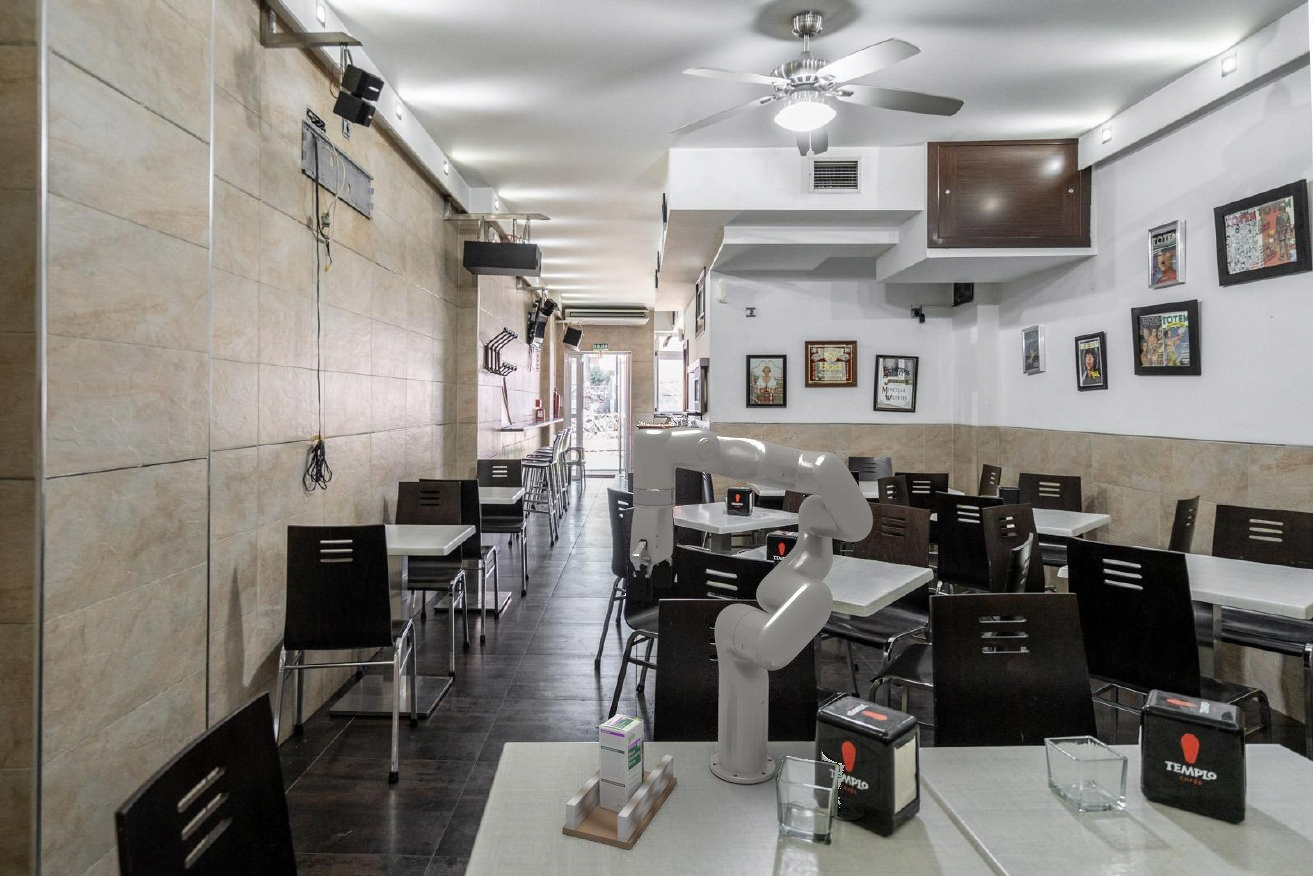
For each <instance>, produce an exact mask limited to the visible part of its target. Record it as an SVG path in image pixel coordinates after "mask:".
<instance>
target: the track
mask: <svg viewBox="0 0 1313 876" xmlns="http://www.w3.org/2000/svg"><path fill="white" fill-rule="evenodd" d="M677 783H678V780H677V777H675V776H674V755H671V754H665V755H664V756H663V757H662V759H661V760H660V761H659V763H657V765H656V766H655V767H654V769H653V770H652V771H651V772H649V771H645V770H644V783H643V784H642V785H641V787H640V788H639V789H638V790H637V792H636V793H635V794H634V796H633V797H632V798H631V799H630V801H629V802H628V803H627V804H626V806H625V807H624V808H623V809H622V811H621V812H620V813H615V812H612V811H609V810H606V809H604V808H601V807H600V771H599V769H597V771H596V772H595V773H594V774H593V775H592V776H591V777H590V778H589V779H588V781H587V782H586V783H584V785H583V786H582V787H581V788H580V789H579V790H578V791H577V792H576V793H575V794H574V795H573V796H572V798H570V800H568V802H566V806H565V807H566V808H565V809H566V813H565V816H566V817H565V818H566V819H565V824H564V825H563V826H562V834H563V835H567V836H571V837H576V838H581V839H584V840H589V841H593V842H596V843H600V844H601V843H602V844H604V845H609V846H612V847H616V848H621V849H625V850H632V848H633V847H634V845H635V844H636V842H637V841H638V839H639V838H640V837H641V835H642V834H643V832H645V829H646V828H647V826H649V823H650V822H651V821H652V819H653V818H654V816H655V815H656V814H657V812H659V809H660V808H661V807H662V805H663V804H664V802H665V801H666V799H667V798H668V796H669V795H670V793H671V792H672V790H673V789H674V788H675V786H676V785H677Z"/></svg>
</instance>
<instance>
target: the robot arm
mask: <svg viewBox="0 0 1313 876" xmlns="http://www.w3.org/2000/svg"><path fill="white" fill-rule="evenodd" d="M632 461H633V464H632V465H633V469H632V470H633V472H632V474H633V477H632V478H633V479H632V482H633V483H632V484H633V485H632V487H633V488H632V489H633V491H632V493H633V494H632V496H633V497H632V499H633V500H632V506H633V507H634V508H633V514H632V519H631V520H632V521H631V530H630V531H631V532H630V545H629V547H630V548H629V550H630V552H629V559H630V562H631V563H632V569H633V573H632V575H633V580H634V581H633V598H634V599H635V600H637V601H646V602H651V601H652V600H653V584H654V587H655V588H660V589H661V588H662V589H670V588H672V583H673V582H672V581H673V580H672V577H673V576H672V575H673V574H672V573H673V569H672V568H673V567H672V566H673V559H672V556H673V553H674V552H673V551H674V519H673V508H674V507H676V470H677V468H678V469H685V470H690V471H695V472H699V473H705V474H711V475H715V476H720V477H722V478H727V479H730V480H733V481H738V482H742V483H748V484H752V485H753V484H754V485H759V486H765V487H769V488H774V489H778V490H785V491H790V492H795V493H801V494H809V495H810V496H806V498H804V500H803V501H802V503H801V504H800V506H799V509H798V515H797V516H798V517H797V518H798V520H797V521H798V534H797V539H796V543H795V545H794V546H793V548H792V549H791V550H790V552H789V553H788V554H787V555H786V556H785V557H784V558H783V559H782V560H781V561H780V562H779V563H778V564H777V565H776V566H775V567H774V568H773V569H772V570H771V571H769V573H768V574H767V575H766V576H764V578H763V579H762V580H761V581H760V583H759V585H758V586H757V589H756V595H755V597H756V600H757V603H758V605H759V606H760V608H762V609H760V608H757V607H755V606H752V605H749V604H745V603H733V604H730V605H728V606H726V607H724V608H723V609H722V610H721V611H720V612H719V614H718V615H717V617H716V619H715V620H716V621H715V624H714V640H715V641H714V642H715V647H716V653H717V661H718V662H717V663H718V716H717V717H718V720H717V721H718V723H717V724H718V728H717V730H718V731H717V735H718V737H717V743H718V744H717V752H715V753H714V754H713V755H712V756H711V757H710V759H709V767H710V770H711V772H712V773H713V774H714V775H716V776H717V777H719V778H720V779H722V780H725V781H727V782H731V783H734V784H742V785H745V784H747V785H751V784H758V783H763V782H765V781H767V780H769V779H771V778H772V777H773V776H774V775H775V773H776V768H777V767H776V762H775V760H774V759H773V758H772V757H771V756H770V755H769V754H768V753H769V751H768V749H769V747H768V746H769V744H768V743H769V689H770V687H769V686H770V685H769V682H770V680H769V672H768V671H777V670H780V669H782V668H784V667H786V666H788V665H789V664H790V663H791V662H792V661H793V660H794V659H795V658H796V657H797V656H798V654H800V653H801V652H802V650H804V649H805V647H807V646H808V644H809V643H810V642H811V641H812V640H813V639H814V638H815V636H816V635H817V634H818V633H819V632H820V631H821V630H822V629H823V627H824V626H825V625H826V624H827V622H828V620H829V619H830V618H831V617H830V616H831V613H832V611H833V605H834V599H833V593H832V591H831V589H830V587H829V585H828V584H826V583H825V582H824V580H825V579H826V578H827V576H828V575H829V573H830V572H831V570H832V567H833V564H834V563H833V562H834V555H833V553H834V552H833V539H835V540H838V541H839V540H840V541H844V542H848V543H856V542H859V541H862V540H864V539H865V538H867V536H868V535H869V534H870V533H871V531H872V528H873V524H874V523H873V522H874V519H873V512H872V508H871V506H870V503H869V502H868V501H867V499H866V497H865V495H864V494H863V492H862V490H861V488H860V487H859V485H858V483H857V481H856V479H855V477H854V476H853V474H852V473H851V472H850V470H849V468H848V467H847V465H846V464H845V463H844V462H843V460H842V459H841V458H840V457H839V456H838V455H836V454H834V453H832V452H828V451H814V450H806V449H800V448H795V447H791V446H786V445H782V444H778V443H777V444H776V443H773V442H769V441H766V440H761V439H756V438H748V437H747V438H746V437H727V436H718V435H717V434H715V432H713V431H711V430H709V429H707V428H701V427H688V426H687V427H685V426H674V427H670V428H642V429H641V428H640V429H638V430H636V431H635V433H634V435H633V460H632ZM646 567H647V568H646ZM653 567H654V578H653V577H651V576H652V571H653ZM653 581H654V583H653Z"/></svg>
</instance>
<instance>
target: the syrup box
mask: <svg viewBox="0 0 1313 876" xmlns="http://www.w3.org/2000/svg"><path fill="white" fill-rule="evenodd" d="M644 727H645V725H644V720H643V719H641V718H639V717H635V716H632V715H628V714H621V713H616V714H615V715H614V716H613V717H611V718H609V719H608V720H606V721H605V722H603V723H602V724H600V725H599V726H598V738H599V739H598V740H599V741H598V747H599V749H598V751H599V752H598V753H599V754H598V756H599V757H598V758H599V761H598V762H599V763H598V764H599V769H598V770H599V771H600V807H601V808H604V809H606V810H609V811H612V812H615V813H620V812H621V811H622V809H623V808H624V807H625V806H626V804H627V803H628V802H629V801H630V799H631V798H632V797H633V796H634V794H635V793H636V792H637V790H638V789H639V788H640V787H641V785H642V784H643V783H644V771H645V752H644V751H645V749H644V747H645V746H644V743H645V741H644V739H645V737H644V736H645V735H644V733H645V731H644V729H645V728H644Z"/></svg>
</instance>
